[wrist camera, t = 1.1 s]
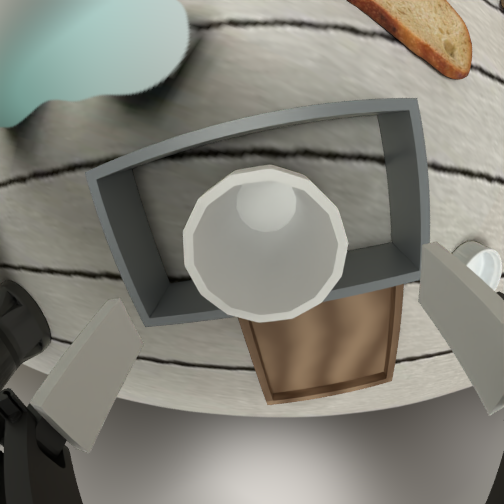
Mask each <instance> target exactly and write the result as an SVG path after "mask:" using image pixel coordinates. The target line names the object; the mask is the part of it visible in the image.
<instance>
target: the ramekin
mask: <svg viewBox="0 0 504 504" xmlns="http://www.w3.org/2000/svg"><path fill="white" fill-rule="evenodd" d="M453 255H454V256H455V257H457V258H458V259H459V260H460V261H461V262H463V263H464V264H465V265H466V266H467V267H468V268H470V269H471V270H472V271H473V272H474V273H475V274H476V275H478V276H479V277H480V278H481V279H482V280H483V281H484V282H485V283H486V284H487V285H489V286H490V287H491V288H492V289H493V290H494V291H495V290H496V288H497V286H498V283H499V281H500V277H501V273H502V261H501V257H500V255H499V253H498V252H497V251H496V250H494V249H492V248H487V247H485V246H484V245H482V244H480V243H478V242H474V241H469V242H466V243H463V244H462V245H460V246H459V247H458V248H457V249H456V250H455V251H454V252H453Z"/></svg>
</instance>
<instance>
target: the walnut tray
mask: <svg viewBox="0 0 504 504" xmlns="http://www.w3.org/2000/svg"><path fill="white" fill-rule="evenodd" d="M403 288H404V284H401V285H397V286H393V287H389V288H385V289H381V290H376V291H372V292H368V293H363V294H359V295H354V296H349V297H345V298H340V299H335V300H330V301H325V302H322V303H320V304H318V305H317V306H315V307H313V308H311V309H309V310H308V311H306V312H304V313H302V314H300V315H299V316H297V317H295V318H293V319H287V320H279V321H270V322H261V323H259V322H255V321H251V320H247V319H243V318H239V317H238V319H239V322H240V325H241V329H242V332H243V335H244V338H245V341H246V344H247V347H248V350H249V353H250V356H251V359H252V362H253V365H254V368H255V371H256V374H257V376H258V379H259V382H260V385H261V388H262V391H263V394H264V397H265V399H266V402H267V405H273V404H282V403H290V402H297V401H304V400H310V399H316V398H322V397H327V396H332V395H337V394H342V393H347V392H351V391H355V390H360V389H364V388H368V387H372V386H376V385H379V384H383V383H386V382H390V381H392V377H393V372H394V366H395V360H396V354H397V347H398V340H399V332H400V324H401V314H402V302H403Z"/></svg>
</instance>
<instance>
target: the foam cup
mask: <svg viewBox="0 0 504 504" xmlns="http://www.w3.org/2000/svg"><path fill="white" fill-rule="evenodd" d="M183 247H184V265H185V267H186V269H187V271H188V273H189V275H190V277H191V278H192V280H193V282H194V284H195V285H196V287H197V289H198V291H199V292H200V294H201V295H202V296H203V297H205V298H206V299H207V300H209V301H210V302H211V303H213V304H214V305H215V306H217V307H218V308H219V309H221V310H222V311H223V312H225V313H226V314H228V315H231V316H235V317H239V318H243V319H247V320H251V321H255V322H259V323H261V322H270V321H279V320H287V319H293V318H295V317H297V316H299V315H300V314H302V313H304V312H306V311H308V310H309V309H311V308H313V307H315V306H317V305H318V304H320V303H322V302H323V300H324V299H325V298H326V296H327V295H328V294H329V293H330V291H331V290H332V289H333V287H334V286H335V285H336V283H337V282H338V281H339V279H340V278H341V277H342V273H343V268H344V263H345V258H346V253H347V248H348V240H347V236H346V233H345V229H344V226H343V223H342V219H341V216H340V213H339V210H338V208H337V207H336V206H335V205H334V204H333V203H332V202H331V200H330V199H329V198H328V197H327V196H326V195H325V194H324V193H323V192H322V191H321V190H320V189H319V188H318V187H317V186H315V185H314V184H313V183H312V182H311V181H310V180H309V179H308V178H307V177H306V176H305V175H303V174H300V173H297V172H294V171H291V170H287V169H284V168H281V167H278V166H274V165H271V164H269V165H263V166H257V167H250V168H245V169H239V170H235V171H233V172H232V173H230V174H229V175H228V176H226V177H225V178H224V179H222V180H221V181H220V182H218V183H217V184H215V185H214V186H213V187H211V188H210V189H209V190H207V191H206V192H205V193H204V194H203V195H202V196H201V197H200V198H199V199H198V200H197V203H196V205H195V207H194V209H193V211H192V213H191V215H190V217H189V219H188V222H187V224H186V226H185V228H184V230H183Z"/></svg>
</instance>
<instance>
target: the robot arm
mask: <svg viewBox="0 0 504 504" xmlns="http://www.w3.org/2000/svg"><path fill="white" fill-rule="evenodd" d="M418 302H419V303H420V304H421V306H422V307H423V309H424V310H425V311H426V313H427V314H428V316H429V317H430V318H431V320H432V321H433V323H434V324H435V326H436V327H437V328H438V330H439V331H440V333H441V334H442V336H443V337H444V339H445V340H446V342H447V343H448V345H449V347H450V348H451V350H452V351H453V353H454V354H455V356H456V358H457V359H458V361H459V362H460V364H461V366H462V367H463V369H464V371H465V372H466V374H467V376H468V378H469V379H470V381H471V383H472V385H473V386H474V388H475V390H476V392H477V394H478V395H479V397H480V399H481V401H482V403H483V405H484V407H485V409H486V411H487V412H488V415H489V416H490V415H492V414H493V413H495V412H496V411H498V410H500V409H502V408H503V407H504V294H503V293H501V292H497V293H496V292H495V291H494V290H493V289H492V288H491V287H490V286H489V285H487V284H486V283H485V282H484V281H483V280H482V279H481V278H480V277H479V276H478V275H476V274H475V273H474V272H473V271H472V270H471V269H470V268H468V267H467V266H466V265H465V264H464V263H463V262H461V261H460V260H459V259H458V258H457V257H455V256H454V255H453V254H452V253H450V252H449V251H448V250H447V249H445V248H444V247H443V246H442V245H440V244H439V243H438V242H433V243H428V244H424V245H422V260H421V277H420V289H419V299H418ZM50 340H51V336H50V331H49V327H48V324H47V322H46V320H45V318H44V316H43V314H42V312H41V311H40V309H39V307H38V306H37V304H36V303H35V302H34V300H33V299H32V298H31V297H30V295H29V294H28V293H27V292H26V291H25V290H24V289H23V288H22V287H20V286H19V285H18V284H16V283H14V282H12V281H4V282H3V283H2V284H0V444H1V445H2V446H3V447H4V453H3V452H2V451H0V504H83V503H82V499H81V496H80V493H79V489H78V486H77V482H76V478H75V474H74V470H73V465H72V461H71V456H70V452H69V449H68V447H67V446H65V443H66V441H68V442H69V443H70V444H71V445H72V446H74V447H75V448H76V449H78V450H81V451H84V452H86V453H90V452H91V449H92V447H93V445H94V442H95V441H96V438H97V436H98V434H99V432H100V430H101V428H102V425H103V423H104V421H105V419H106V417H107V415H108V413H109V411H110V409H111V407H112V405H113V403H114V401H115V399H116V397H117V395H118V393H119V391H120V389H121V387H122V385H123V383H124V381H125V379H126V377H127V375H128V373H129V371H130V370H131V368H132V366H133V364H134V362H135V360H136V358H137V356H138V354H139V353H140V351H141V349H142V347H143V345H144V343H143V341H142V339H141V337H140V336H139V334H138V332H137V330H136V328H135V326H134V324H133V322H132V320H131V318H130V316H129V314H128V312H127V310H126V308H125V306H124V304H123V302H122V300H121V298H116V299H108V300H107V302H106V303H105V304H104V305H103V306H102V308H101V309H100V310H99V311H98V312H97V313H96V315H95V316H94V317H93V318H92V320H91V321H90V322H89V323H88V324H87V326H86V327H85V328H84V329H83V331H82V332H81V333H80V334H79V336H78V337H77V338H76V339H75V341H74V342H73V343H72V344H71V346H70V347H69V348H68V350H67V351H66V352H65V354H64V355H63V356H62V358H61V359H60V360H59V362H58V363H57V364H56V366H55V367H54V368H53V370H52V371H51V372H50V374H49V375H48V377H47V378H46V379H45V381H44V382H43V384H42V385H41V386H40V388H39V389H38V391H37V392H36V394H35V395H34V397H33V398H32V400H31V401H30V404H29V405H28V407H26V406H25V405H24V404H23V403H22V402H21V400H20V399H19V398H18V397H17V396H16V395H15V393H14V392H13V391H12V390H11V389H9V388H7V389H4V390H2V389H3V387H4V386H5V385H6V383H7V382H8V380H9V379H10V378H11V376H12V375H13V374H14V372H15V371H16V370H17V368H18V367H19V366H20V365H21V364H22V363H23V362H25V361H27V360H29V359H31V358H32V357H34V356H36V355H38V354H40V353H42V352H43V351H44V350H45V349H46V347H47V346H48V345H49V343H50ZM1 390H2V391H1ZM485 504H504V453H503V456H502V459H501V463H500V466H499V469H498V472H497V475H496V478H495V481H494V484H493V486H492V489H491V491H490V494H489V496H488V499H487V501H486V503H485Z"/></svg>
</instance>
